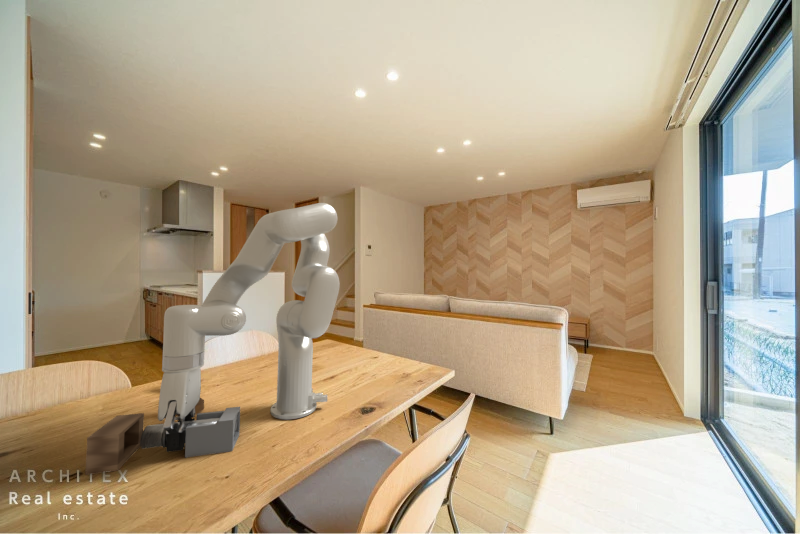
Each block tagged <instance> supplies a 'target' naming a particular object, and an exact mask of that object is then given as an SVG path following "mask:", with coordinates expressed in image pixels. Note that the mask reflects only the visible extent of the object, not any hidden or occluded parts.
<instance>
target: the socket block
mask: <svg viewBox="0 0 800 534" xmlns="http://www.w3.org/2000/svg"><path fill="white" fill-rule="evenodd" d="M144 419H145V413H144V412H140V413H130V414H122V415H121V414H119V415H116V416H114V417H113V418H112V419H110V420H109V421H108V422H106V423H105V424H104V425H102V426H101V427H100V428H98V429H96V430H95V432H93V433H92V434H90V435H89V436H87V437H86V458H85V476H88V475H92V474H93V475H94V474H101V473H107V472H115V471H118V470H120V468H121V467H123V465H124V464H125V463H126V462H127V461H129V459H130V458H131V457H132V456H133V455H134V454H135V453H136V452H137V451H138V450H139V449H141V446H140V439H141V435H142V433H143V430H144V425H145V424H144V423H145V422H144Z"/></svg>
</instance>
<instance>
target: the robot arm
mask: <svg viewBox="0 0 800 534" xmlns="http://www.w3.org/2000/svg"><path fill="white" fill-rule="evenodd" d="M337 224H338V214H337V211H336V209H335V208H334V207H333V206H332V205H331V204H329V203H326V202H318V203H313V204H309V205H304V206H300V207H294V208H289V209H288V208H287V209H282V210H278V211H274V212H270V213H267V214H265V215H262V217H260V218H259V220H258V221H257V223H256V225H255V226H254V227H253V229H252V231H251V232H250V234H249V236H248V238H247V239H246V241H245V242H244V244H243V245H242V248H241V249H240V251H239V253H238V254H237V257H236V258H235V259H234V260H233V261H232V263H231V264H230V265H229V266H228V267H227V268H226V270H225V271H223V273H222V275H220V277H219V278H218V279H217V280H216V282H215V283H214V284H213V286H212V287H211V288H210V291H209V292H208V294H207V296H206V297H205V299H204V301H203V302H202V304H201V305H199V304H179V305H172V306H169V307H167V309H166V310H165V312H164V316H163V319H164V320H163V341H162V343H163V344H162V361H161V363H162V364H161V365H162V367H161V371H162V372H163V374H162V379H161V384H160V389H159V397H158V398H159V399H158V406H157V407H158V408H157V420H158V421H159V422H162V421H164V423H163V424H164V426H163V428H164V429H166V434H167V442H166V449H165V451H166V452H167V453H171V452H179V451H183V450H185V431H186V430H183V429H184V422H185V421H194V420H196V418H195V417H196V414H195V407H196V406H195V405H196V404H197V403H198V401H199V399H200V398H201V392H202V390H201V389H202V388H201V387H202V383H201V382H202V372H201V370H202V369H201V368H203V366H204V365H205V347H206V346H205V343H206V336H210V337H211V336H212V337H213V336H215V337H216V336H223V337H224V336H232V335H234V334H236V333H238V332H240V330H242V329H243V327H244V326H245V324H246V322H247V315H246V312H245V311H244V309H242V307H240V306H239V305H237V304H238V302H239V301H240V299H241V298H242V296H243V295H244V294H245V292H246V291H247V290H248V289H250V288H251V286H253V285H255V284H256V283H257V282H260V281H262V280H263V279H264V278H265V277H267V275H268V274H269V273H270V272H271V270H272V268H273V265H274V263H275V262H276V261H277V258H278V256H279V255H280V252H281V251H282V249H283V246H285V244H288V243H289V244H290V243H295V242H299V241H300V244H301V248H300V252H299V257H298V260H297V264H296V267H295V271H294V274H293V276H292V279H291V288H292V290H293V292H294V293H295V294H296V295H298V296H301V297H304V300H299V299H298V300H297V299H294V300H290V301H287V302H285V303H283V304H281V306H280V308H279V309H278V311H277V314H276V322H275V323H276V331H277V337H278V338H277V340H278V341H277V342H278V349H277V350H278V351H277V352H278V356H277V385H276V402H275V403H273V404H272V405H271V407H270V415H271V416H272V417H273V418H275V419H278V420H296V419H300V418H304V417H306V416H309V415H310V414H312V413H314V412H315V411H316V409H317V403H326V402H328V394H324V393H323V392H313V390H314V388H313V358H314V357H313V353H314V346H313V345H314V343H313V339H318V338H320V337H321V336H322V335H324V334H325V333H326V332H327V330H329V329H328V328H329V326H330V324H331V322H332V318H333V315H334V310H335V308H336V307H335V306H336V304H337V300H338V297H339V293H340V285H341V283H340V278H339V275H338V273H337V271H336V270H335V269H333V268H332V267H331V266H328V262H329V257H330V251H331V250H330V244H329V241H328V238H327V236H326V235H325V234H328V233H329V232H330V233H331V232H332V231H333V230H334V229H335V227H336V226H337ZM176 414H179V415H180V416H178V415H176ZM174 421H175V422H176V421H177V422H180V423H179V424H178V423H175V422H174Z"/></svg>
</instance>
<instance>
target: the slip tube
mask: <svg viewBox="0 0 800 534" xmlns="http://www.w3.org/2000/svg"><path fill="white" fill-rule="evenodd" d="M219 419H220V418H212V419H203V420H196V419H195V420H194V421H185V422H184V429H183V430H186V427H187V426H193V425H202V424H211V423H218V421H219ZM174 422H175V423H178V424H179V423H180V422H178V421H176V420H175V421H174ZM163 426H164V423H160V424H159V423H157V424H150V425H147V426H145V427H144V428H143V433H142V435H141V439H140V446H141V447H140V449H142V450H144V449H152V448H158V447H162V448H163V449H165V448H166V442H167V434H166V429H164V428H163ZM236 430H237V416H236V418H235V420H234V437H235V434H236ZM185 443H186V431H185Z"/></svg>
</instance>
